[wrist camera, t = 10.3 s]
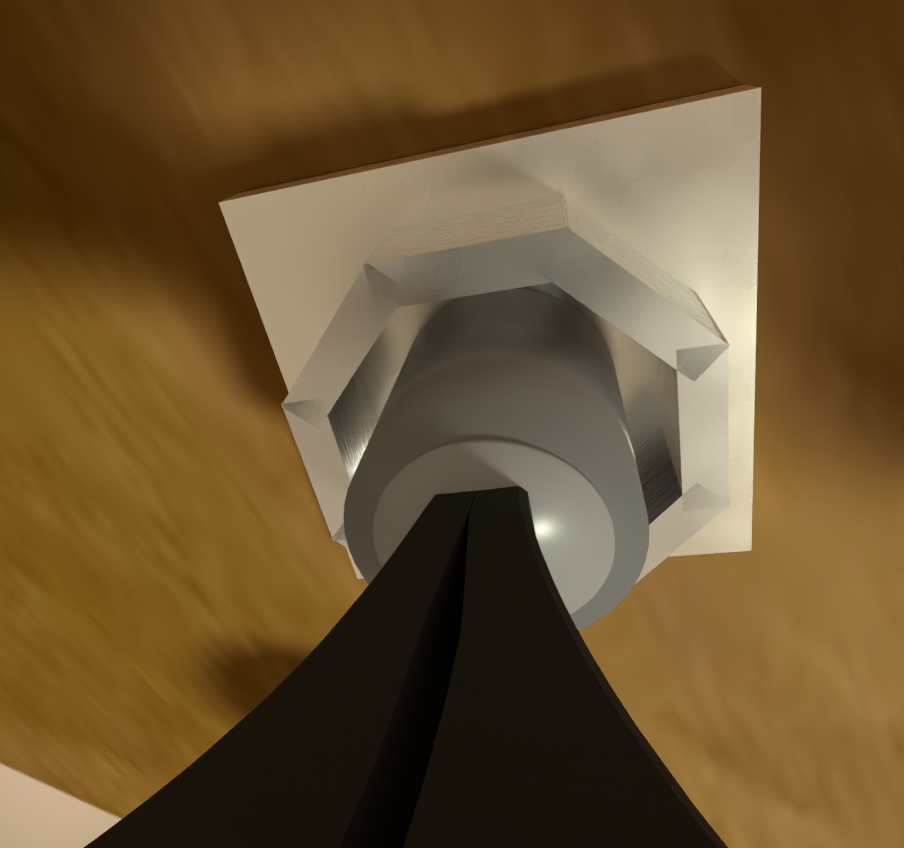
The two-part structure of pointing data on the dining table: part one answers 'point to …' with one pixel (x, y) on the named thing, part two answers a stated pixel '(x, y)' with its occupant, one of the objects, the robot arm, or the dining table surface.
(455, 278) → the octagonal socket plate
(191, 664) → the dining table surface
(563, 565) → the cylindrical peg
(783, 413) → the dining table surface
